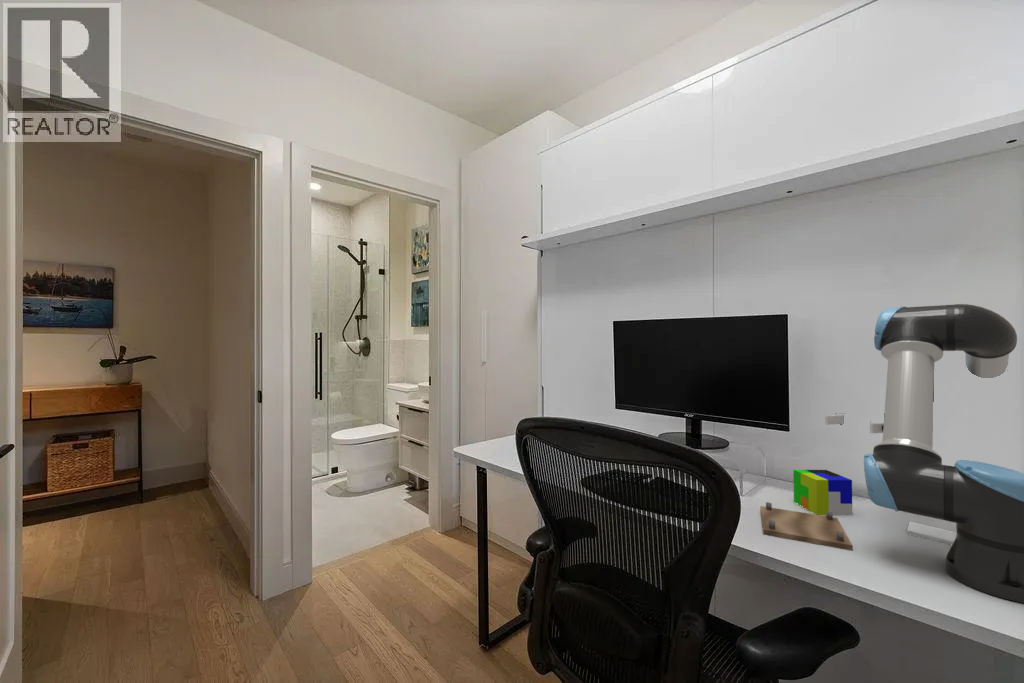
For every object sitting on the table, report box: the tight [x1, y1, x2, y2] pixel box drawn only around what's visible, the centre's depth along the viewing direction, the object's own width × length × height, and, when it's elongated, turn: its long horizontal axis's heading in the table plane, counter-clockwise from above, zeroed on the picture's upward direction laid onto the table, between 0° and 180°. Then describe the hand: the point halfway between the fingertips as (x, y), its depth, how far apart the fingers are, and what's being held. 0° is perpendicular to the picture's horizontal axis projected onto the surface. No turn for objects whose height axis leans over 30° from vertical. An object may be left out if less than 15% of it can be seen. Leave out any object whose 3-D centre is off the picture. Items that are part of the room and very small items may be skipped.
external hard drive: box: [906, 521, 957, 545], centre depth 105 cm, size 2×8×12 cm
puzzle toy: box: [793, 469, 853, 516], centre depth 124 cm, size 10×10×10 cm
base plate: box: [760, 501, 854, 551], centre depth 110 cm, size 18×18×3 cm
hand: (847, 424), depth 127 cm, fingers open, 13 cm apart
